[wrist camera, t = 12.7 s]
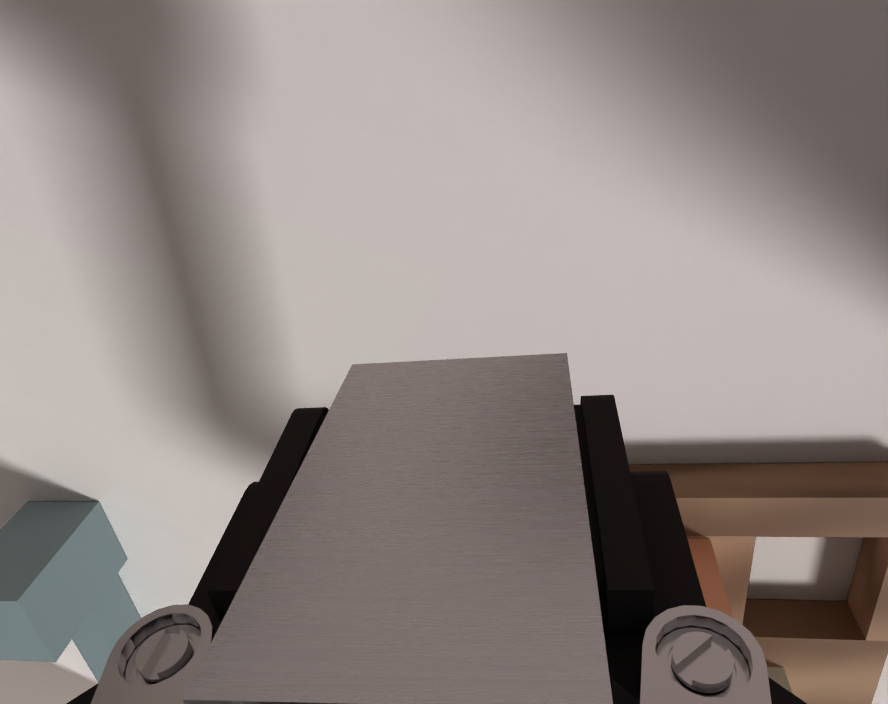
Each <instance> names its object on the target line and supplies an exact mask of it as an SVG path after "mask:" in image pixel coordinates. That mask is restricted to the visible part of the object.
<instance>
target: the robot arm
mask: <svg viewBox="0 0 888 704" xmlns="http://www.w3.org/2000/svg"><path fill="white" fill-rule="evenodd" d="M328 411H329V410H328V408H326V407H322V408H299V409H295V410H294V411H293V413H292V415H291V417H290V419H289V421H288V423H287V425H286V427H285V429H284V431H283V433H282V435H281V437H280V439H279V442H278V444H277V446H276V448H275V450H274V452H273V454H272V456H271V458H270V460H269V462H268V464H267V466H266V468H265V470H264V473H263V475H262V477H261V479H260V481H259V482H253V483H252V484H250V485H249V486H248V488H247V489H246V491H245V492H244V494H243V496H242V498H241V500H240V502H239V504H238V506H237V508H236V510H235V512H234V514H233V516H232V518H231V520H230V522H229V524H228V526H227V528H226V530H225V532H224V534H223V536H222V538H221V540H220V542H219V544H218V546H217V548H216V550H215V552H214V554H213V556H212V558H211V560H210V562H209V564H208V566H207V568H206V570H205V572H204V574H203V576H202V578H201V580H200V582H199V584H198V586H197V588H196V590H195V592H194V594H193V596H192V598H191V600H190V602H189V604H188V605H172V606H168V607H165V608H161V609H158V610H156V611H154V612H152V613H150V614H148V615H146V616H144V617H142V618H141V619H140V620H138V621H137V622H136V623H135V624H133V625H132V626H131V627H129V628H128V629H127V631H126V632H125V633H124V634H123V635H122V636H121V637H120V638H119V640H118V641H117V642H116V644H115V646H114V648H113V650H112V651H111V653H110V655H109V657H108V660H107V663H106V665H105V668H104V670H103V673H102V676H101V678H100V681H99V683H98V684H96V685H95V686H93V687H92V688H90V689H89V690H87V691H86V692H84V693H83V694H81V695H79V696H78V697H76V698H75V699H73V700H71V701H70V702H68V703H67V704H184V702H183V700H182V699H183V697H184V695H185V693H186V691H187V689H188V687H189V685H190V684H191V682H192V680H193V678H194V676H195V674H196V672H197V670H198V668H199V666H200V664H201V662H202V660H203V658H204V656H205V654H206V652H207V650H208V648H209V646H210V644H211V642H212V640H213V638H214V636H215V634H216V632H217V630H218V628H219V626H220V624H221V622H222V620H223V618H224V616H225V614H226V613H227V611H228V609H229V607H230V605H231V603H232V601H233V599H234V597H235V595H236V593H237V591H238V589H239V587H240V585H241V583H242V581H243V579H244V577H245V575H246V573H247V571H248V569H249V567H250V565H251V563H252V561H253V559H254V557H255V555H256V553H257V551H258V549H259V547H260V545H261V543H262V542H263V540H264V538H265V536H266V534H267V532H268V530H269V528H270V526H271V524H272V522H273V520H274V518H275V516H276V514H277V512H278V510H279V508H280V506H281V504H282V502H283V500H284V498H285V496H286V494H287V492H288V490H289V488H290V486H291V484H292V482H293V480H294V478H295V476H296V474H297V472H298V471H299V469H300V467H301V465H302V463H303V461H304V459H305V457H306V455H307V453H308V451H309V449H310V447H311V445H312V443H313V441H314V439H315V437H316V435H317V433H318V431H319V429H320V427H321V425H322V423H323V421H324V419H325V417H326V415H327V413H328ZM574 411H575V419H576V426H577V434H578V441H579V449H580V456H581V464H582V472H583V479H584V487H585V494H586V502H587V510H588V517H589V525H590V532H591V540H592V548H593V555H594V563H595V570H596V578H597V586H598V593H599V601H600V608H601V616H602V623H603V631H604V639H605V646H606V654H607V661H608V669H609V677H610V684H611V692H612V699H613V704H807V703H805V702H804V701H803V700H801V699H800V698H798V697H797V696H795V695H794V694H792V693H791V692H790V691H788V690H787V689H785V688H784V687H782V686H781V685H779V684H778V683H777V682H775V681H774V680H772V679H771V678H769V677H768V671H767V664H766V661H765V657H764V654H763V651H762V648H761V646H760V645H759V643H758V642H757V640H756V639H755V638H754V636H753V635H752V633H751V632H750V631H749V630H748V629H746V628H745V627H744V626H743V625H742V624H741V623H740V622H738V621H737V620H736V619H734V618H732V617H730V616H728V615H727V614H725V613H723V612H721V611H719V610H715V609H711V608H708V607H706V604H705V600H704V596H703V593H702V589H701V586H700V582H699V579H698V575H697V572H696V568H695V564H694V561H693V557H692V554H691V550H690V547H689V543H688V540H687V536H686V533H685V529H684V525H683V522H682V518H681V515H680V511H679V508H678V504H677V501H676V497H675V493H674V490H673V486H672V483H671V480H670V477H669V474H668V473H667V471H637V472H630V470H629V465H628V461H627V456H626V451H625V446H624V441H623V437H622V432H621V427H620V422H619V417H618V413H617V408H616V403H615V398H614V396H613V395H597V396H581V405H574Z"/></svg>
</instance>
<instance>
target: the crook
mask: <svg viewBox="0 0 888 704" xmlns="http://www.w3.org/2000/svg"><path fill="white" fill-rule="evenodd" d="M182 700H183V702H184V704H613V699H612V692H611V684H610V677H609V669H608V661H607V654H606V646H605V639H604V631H603V623H602V616H601V608H600V601H599V593H598V586H597V578H596V570H595V563H594V555H593V548H592V540H591V532H590V525H589V517H588V510H587V502H586V494H585V487H584V479H583V472H582V464H581V456H580V449H579V441H578V434H577V426H576V419H575V411H574V403H573V396H572V388H571V381H570V373H569V365H568V358H567V353H560V354H541V355H522V356H503V357H484V358H466V359H447V360H428V361H409V362H390V363H371V364H352V366H351V368H350V370H349V372H348V374H347V376H346V378H345V380H344V382H343V384H342V386H341V388H340V390H339V392H338V394H337V396H336V398H335V400H334V401H333V403H332V405H331V407H330V409H329V411H328V413H327V415H326V417H325V419H324V421H323V423H322V425H321V427H320V429H319V431H318V433H317V435H316V437H315V439H314V441H313V443H312V445H311V447H310V449H309V451H308V453H307V455H306V457H305V459H304V461H303V463H302V465H301V467H300V469H299V471H298V472H297V474H296V476H295V478H294V480H293V482H292V484H291V486H290V488H289V490H288V492H287V494H286V496H285V498H284V500H283V502H282V504H281V506H280V508H279V510H278V512H277V514H276V516H275V518H274V520H273V522H272V524H271V526H270V528H269V530H268V532H267V534H266V536H265V538H264V540H263V542H262V543H261V545H260V547H259V549H258V551H257V553H256V555H255V557H254V559H253V561H252V563H251V565H250V567H249V569H248V571H247V573H246V575H245V577H244V579H243V581H242V583H241V585H240V587H239V589H238V591H237V593H236V595H235V597H234V599H233V601H232V603H231V605H230V607H229V609H228V611H227V613H226V614H225V616H224V618H223V620H222V622H221V624H220V626H219V628H218V630H217V632H216V634H215V636H214V638H213V640H212V642H211V644H210V646H209V648H208V650H207V652H206V654H205V656H204V658H203V660H202V662H201V664H200V666H199V668H198V670H197V672H196V674H195V676H194V678H193V680H192V682H191V684H190V685H189V687H188V689H187V691H186V693H185V695H184V697H183V699H182Z"/></svg>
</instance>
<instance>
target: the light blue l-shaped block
mask: <svg viewBox="0 0 888 704" xmlns="http://www.w3.org/2000/svg"><path fill="white" fill-rule="evenodd" d="M126 560H127V557H126V555H125V553H124V551H123V549H122V547H121V545H120V543H119V541H118V539H117V537H116V535H115V533H114V531H113V529H112V527H111V525H110V523H109V521H108V518H107V516H106V514H105V512H104V510H103V508H102V506H101V504H100V502H99V501H65V502H27V503H26V504H25V505H24V506H23V507H22V508H21V509H20V510H19V512H18V513H17V514H16V515H15V516H14V517H13V518H12V519H11V520H10V521H9V522H8V523H7V524H6V525H5V526H4V527H3V528H2V529H1V530H0V660H20V661H39V662H56V661H57V660H58V658H59V657H60V655H61V654H62V653H63V651H64V650H65V648H66V647H67V645H68V644H69V642H70V641H71V640H73V641H74V643H75V645H76V646H77V648H78V650H79V651H80V653H81V655H82V656H83V658H84V660H85V661H86V663H87V665H88V666H89V668H90V670H91V671H92V673H93V674H94V676H95V678H96V679H97V681H98V683H99V681H100V678H101V676H102V673H103V670H104V668H105V665H106V663H107V660H108V657H109V655H110V653H111V651H112V650H113V648H114V646H115V644H116V642H117V641H118V640H119V638H120V637H121V636H122V635H123V634H124V633H125V632H126V631H127V629H128V628H129V627H131V626H132V625H133V624H135V623H136V622H137V621H138V620H140V619H141V617H140V615H139V613H138V611H137V610H136V608H135V606H134V604H133V602H132V600H131V598H130V596H129V594H128V592H127V590H126V588H125V586H124V584H123V582H122V580H121V578H120V576H119V574H118V572H119V571H120V569H121V568H122V566H123V565H124V563H125V562H126Z"/></svg>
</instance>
